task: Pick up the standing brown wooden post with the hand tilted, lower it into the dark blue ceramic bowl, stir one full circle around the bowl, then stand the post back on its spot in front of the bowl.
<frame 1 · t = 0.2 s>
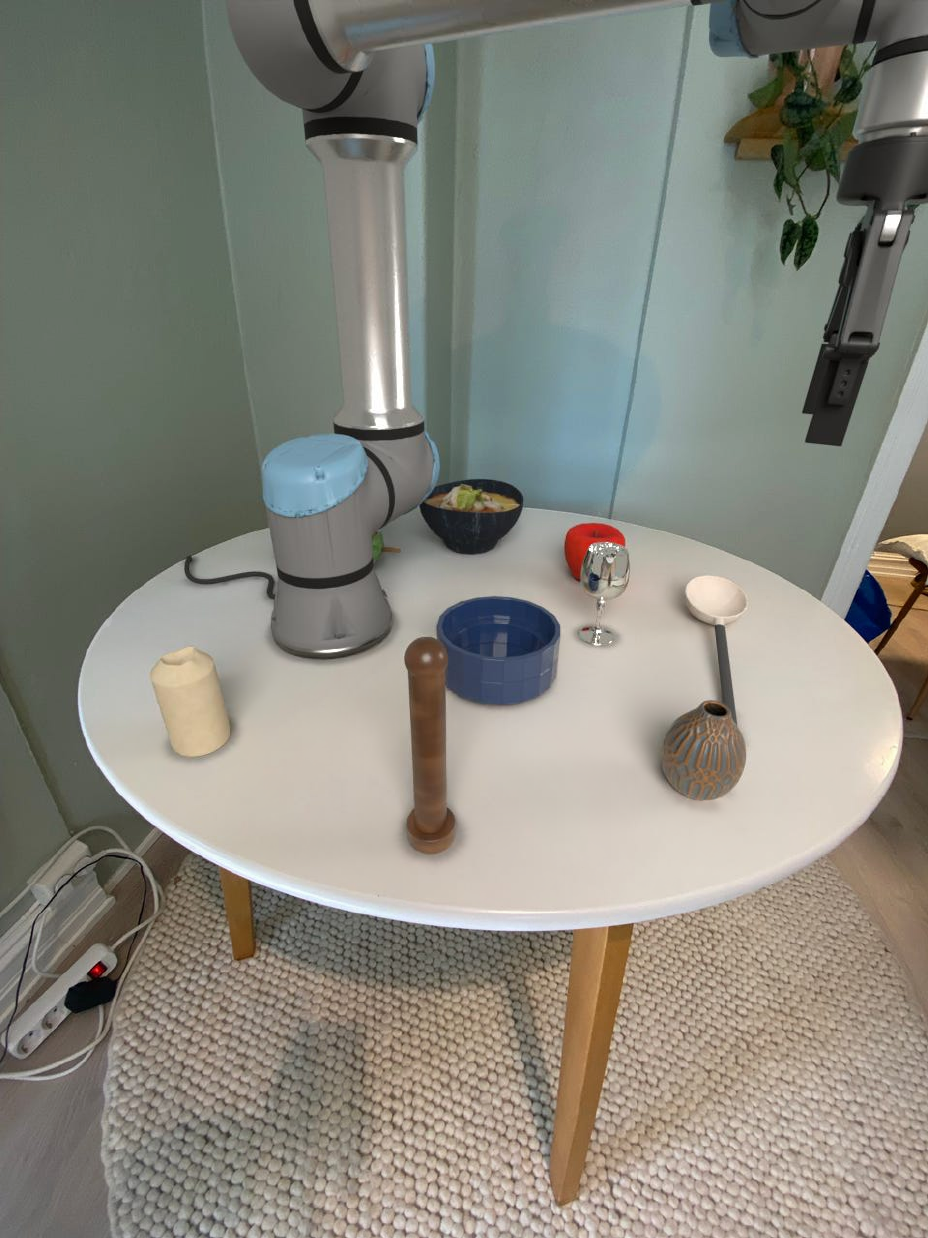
hand: (819, 427, 56), 28 cm above the table, tool pointing down, fingers open, 13 cm apart
bowl: (470, 545, 102), on the table
ladle: (716, 659, 72), on the table
skewer: (339, 559, 96), on the table
blue bowl: (496, 673, 69), on the table
vase: (693, 785, 55), on the table
wineglass: (595, 637, 77), on the table
brown wooden post: (431, 834, 50), on the table
apple: (590, 578, 91), on the table
candle: (202, 739, 60), on the table
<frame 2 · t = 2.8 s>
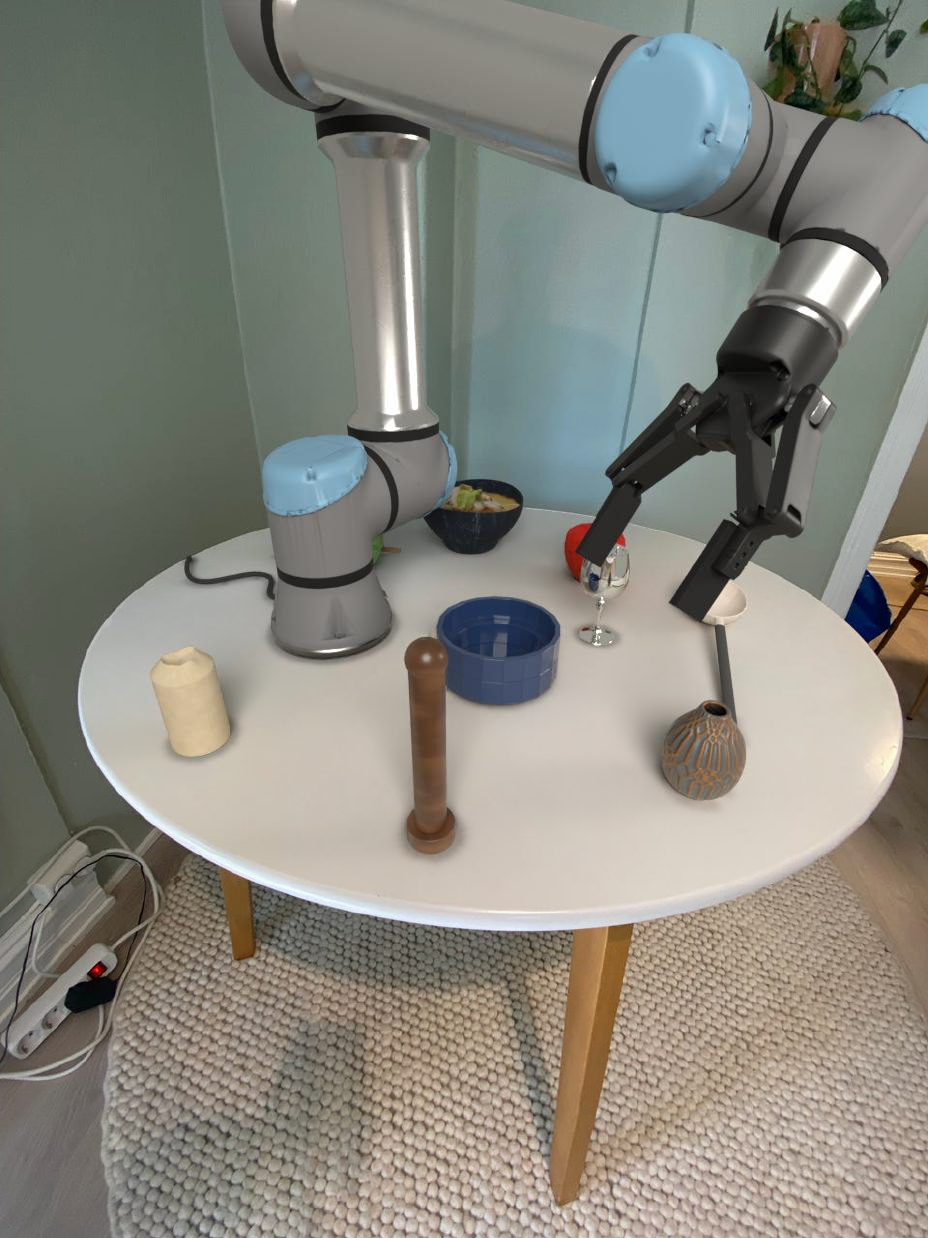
hand: (629, 583, 47), 19 cm above the table, tool tilted 35°, fingers open, 13 cm apart
nothing on the table moved.
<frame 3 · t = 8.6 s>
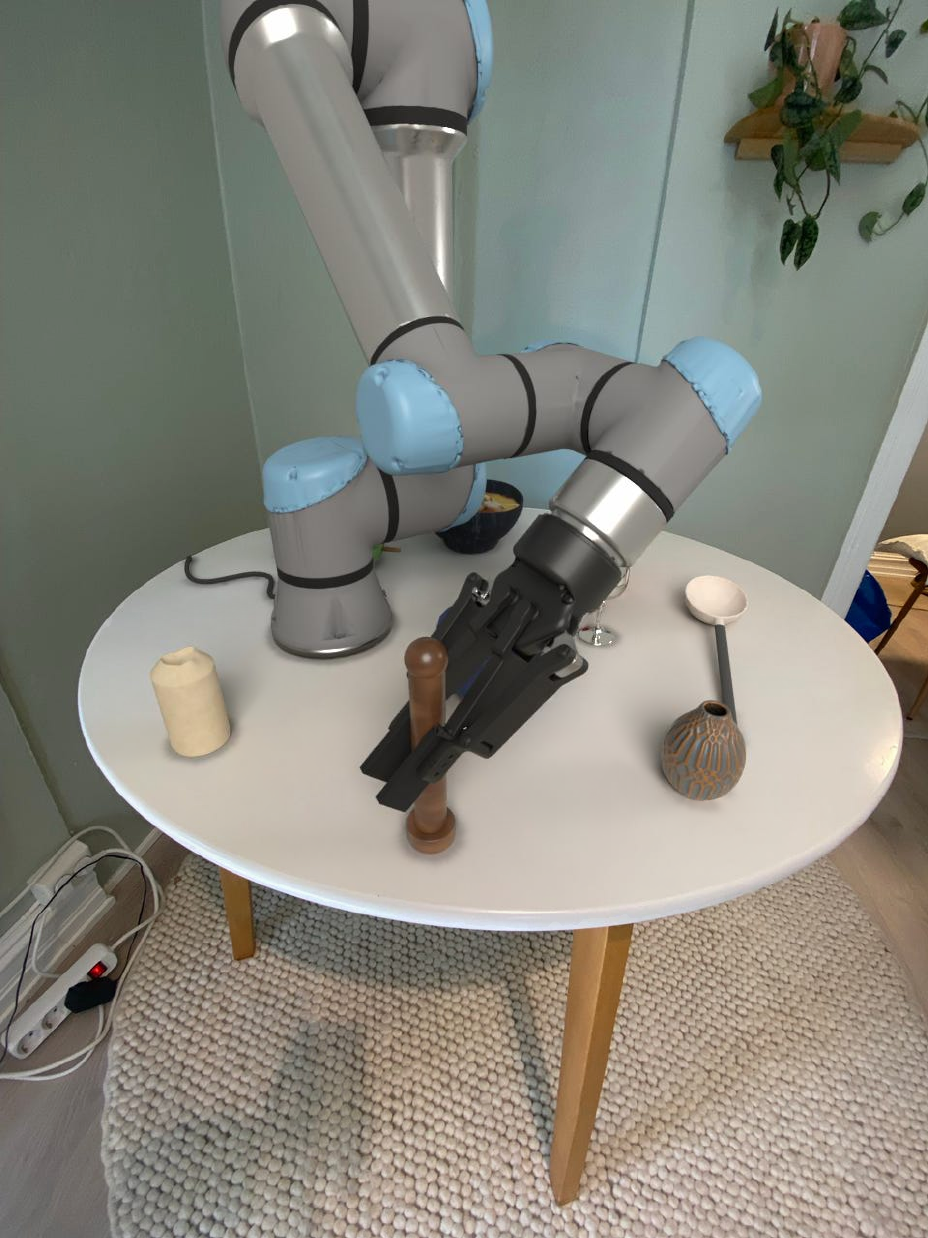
hand: (382, 789, 44), 7 cm above the table, tool tilted 45°, fingers closed on brown wooden post, 3 cm apart
brown wooden post: (431, 834, 50), on the table, touching gripper
everything else where it was.
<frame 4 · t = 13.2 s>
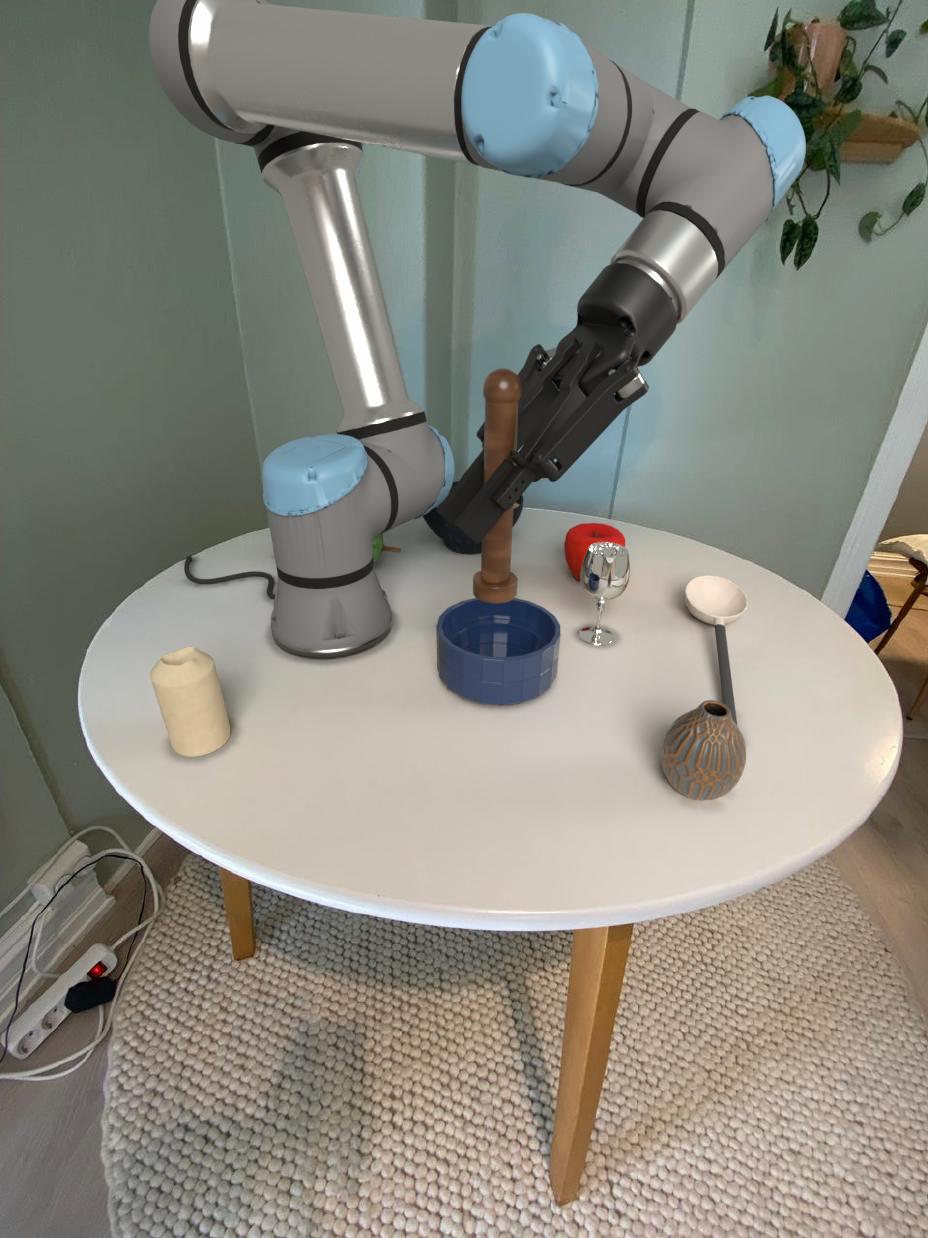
hand: (456, 526, 49), 22 cm above the table, tool tilted 45°, fingers closed on brown wooden post, 3 cm apart
brown wooden post: (494, 593, 55), point 15 cm above the table, touching gripper
everything else where it was.
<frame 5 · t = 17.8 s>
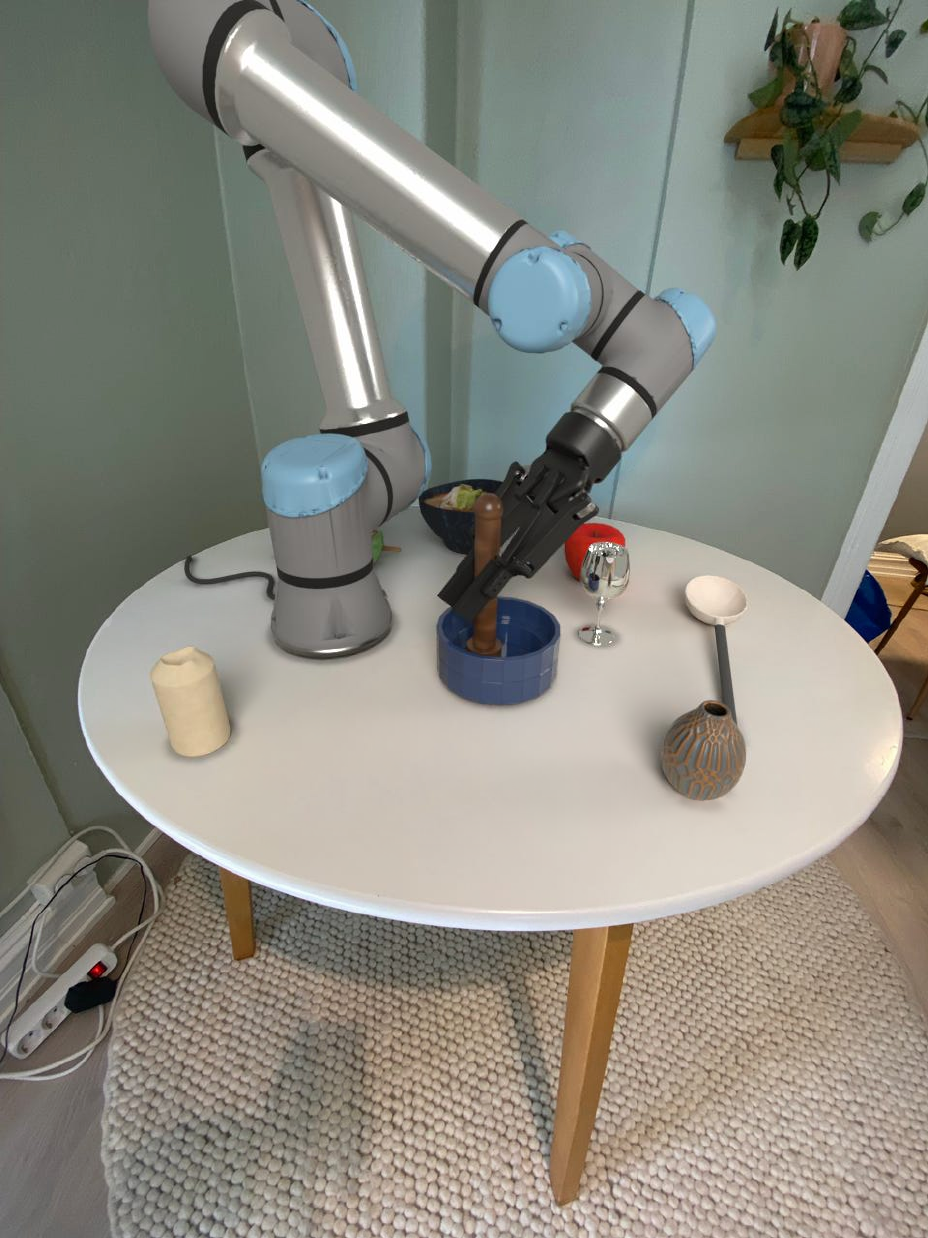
hand: (453, 609, 63), 9 cm above the table, tool tilted 45°, fingers closed on brown wooden post, 3 cm apart
brown wooden post: (483, 655, 69), point 2 cm above the table, touching gripper
everything else where it was.
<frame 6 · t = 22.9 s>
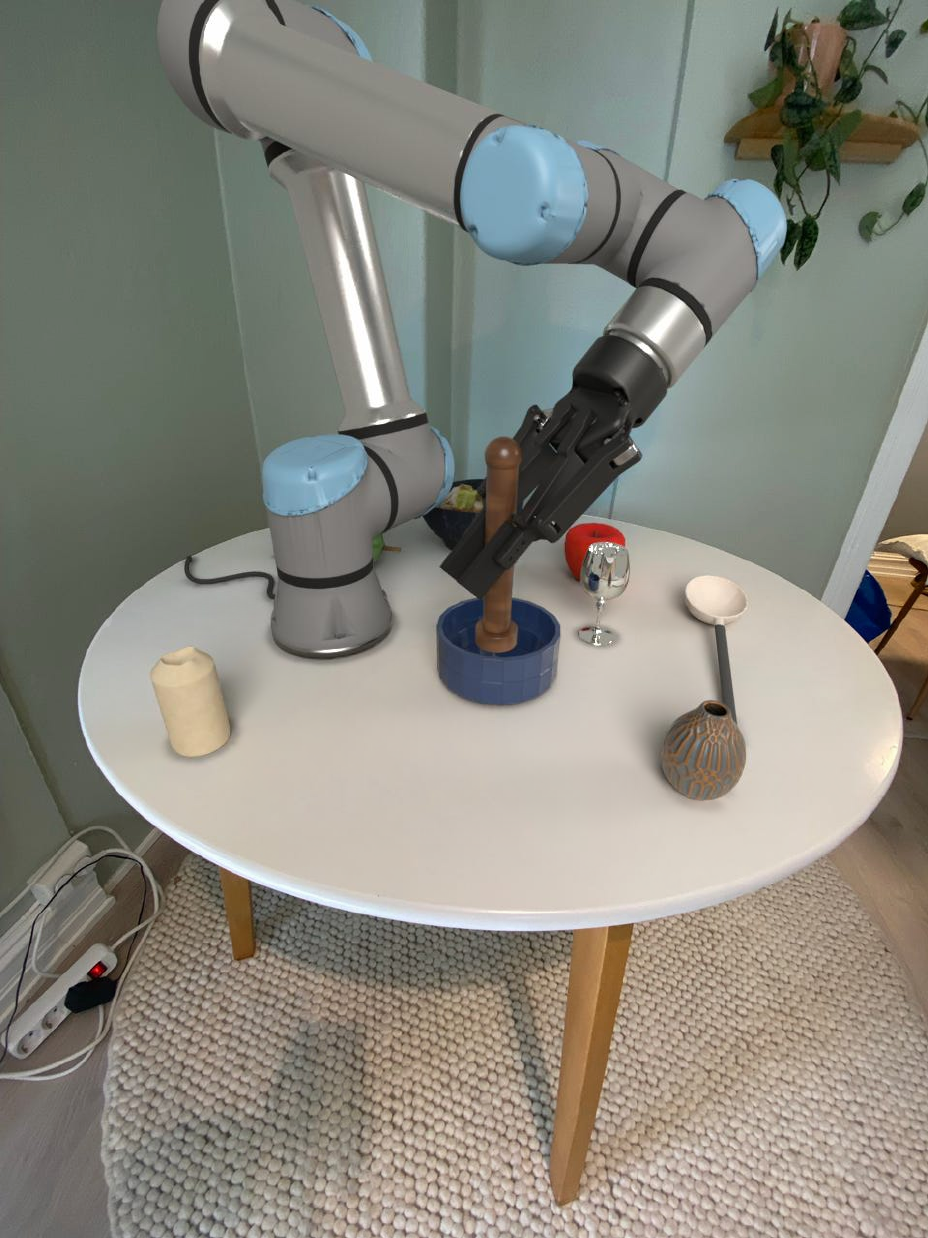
hand: (459, 583, 52), 17 cm above the table, tool tilted 45°, fingers closed on brown wooden post, 3 cm apart
brown wooden post: (496, 641, 57), point 10 cm above the table, touching gripper
everything else where it was.
when the fingers open (7 cm above the table, at t = 27.0 s): brown wooden post stays where it is, on the table.
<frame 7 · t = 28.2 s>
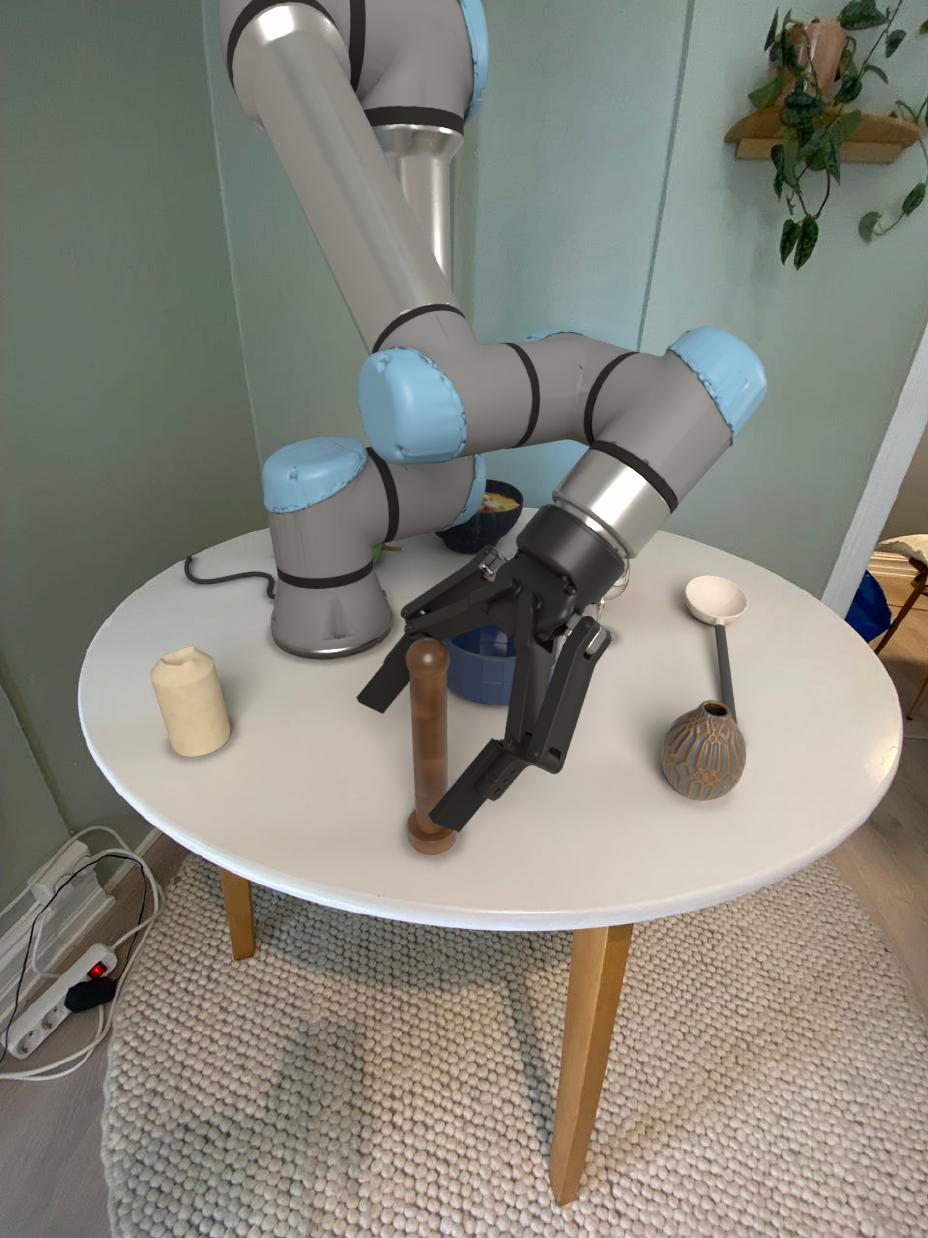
hand: (402, 758, 44), 9 cm above the table, tool tilted 45°, fingers open, 13 cm apart
brown wooden post: (432, 835, 50), on the table
everything else where it was.
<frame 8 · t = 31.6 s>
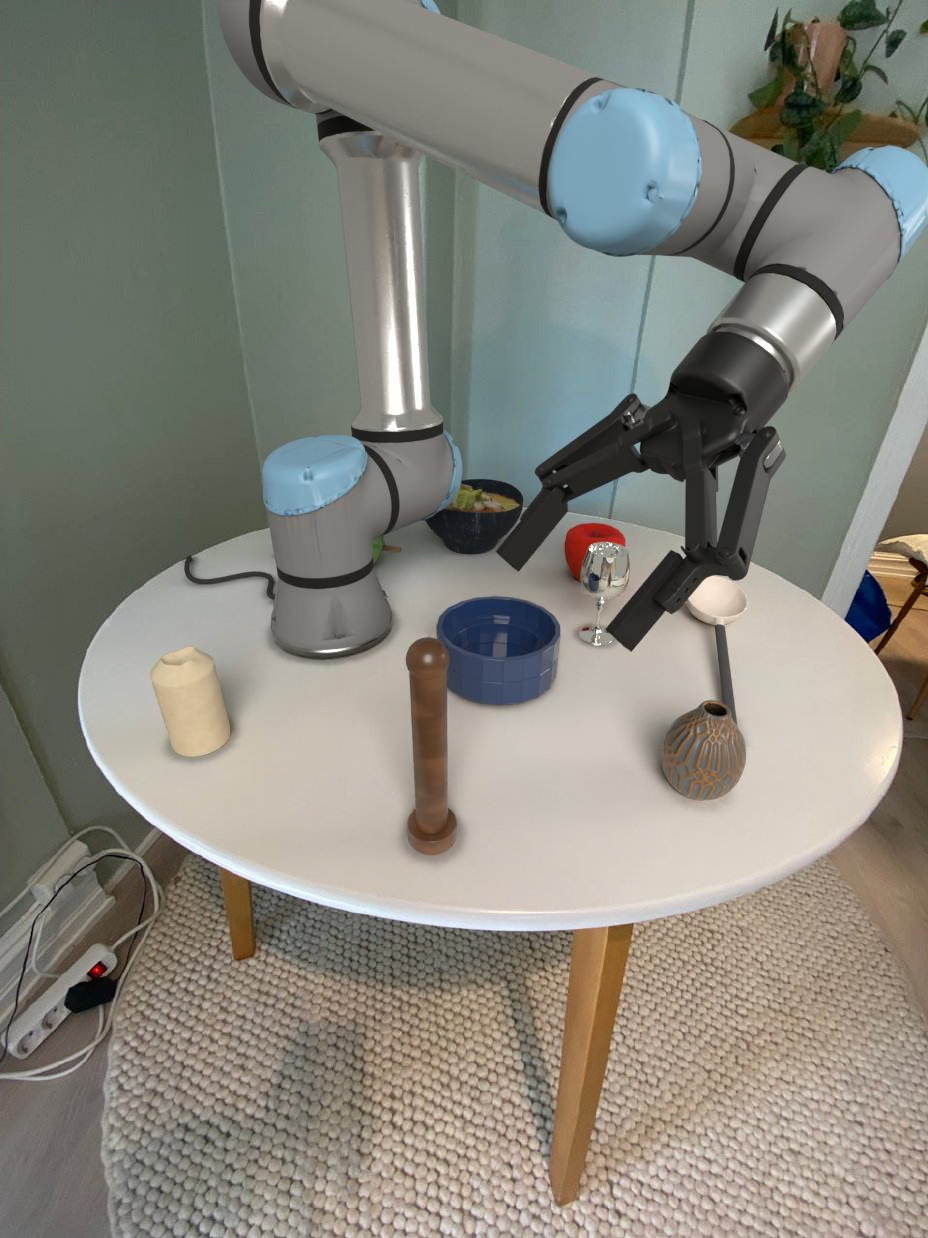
hand: (555, 597, 44), 20 cm above the table, tool tilted 45°, fingers open, 13 cm apart
nothing on the table moved.
at the end: brown wooden post inside the target area on the table beside the blue bowl (0.1 cm from its centre), on the table; brown wooden post tilted 0°; the gripper is holding nothing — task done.
